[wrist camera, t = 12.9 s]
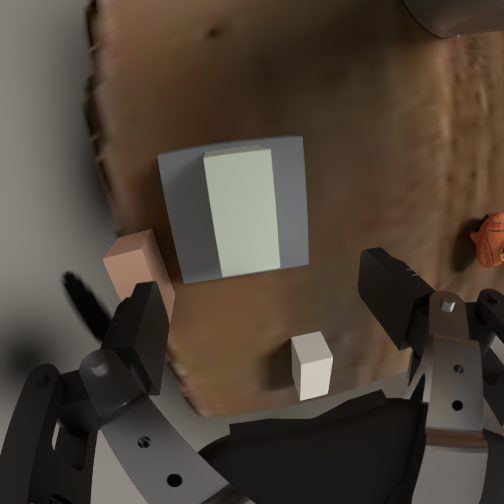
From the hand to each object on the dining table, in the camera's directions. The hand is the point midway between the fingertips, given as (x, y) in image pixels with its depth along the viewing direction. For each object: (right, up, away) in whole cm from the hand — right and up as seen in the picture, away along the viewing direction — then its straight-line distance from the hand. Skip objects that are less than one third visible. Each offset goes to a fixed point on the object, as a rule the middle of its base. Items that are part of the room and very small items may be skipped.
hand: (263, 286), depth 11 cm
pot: (+32, +4, +19) cm, 37 cm away
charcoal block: (-2, +6, +13) cm, 14 cm away
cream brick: (+6, -11, +22) cm, 26 cm away
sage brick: (-1, +5, +9) cm, 10 cm away
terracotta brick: (-10, 0, +14) cm, 18 cm away
